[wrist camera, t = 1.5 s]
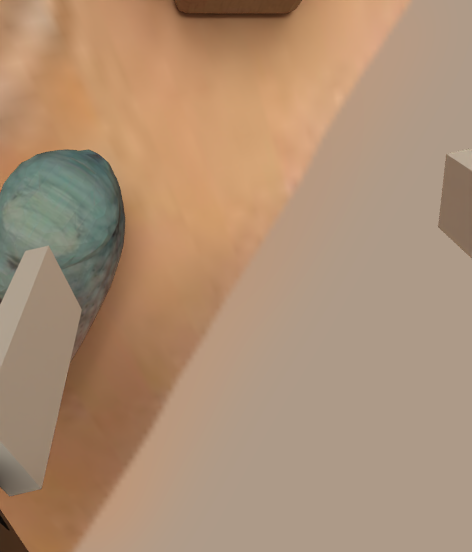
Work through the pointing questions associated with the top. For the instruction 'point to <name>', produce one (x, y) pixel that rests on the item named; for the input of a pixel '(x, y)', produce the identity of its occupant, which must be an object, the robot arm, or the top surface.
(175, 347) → the top surface
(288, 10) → the wooden block
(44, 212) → the grey rounded bird shape
